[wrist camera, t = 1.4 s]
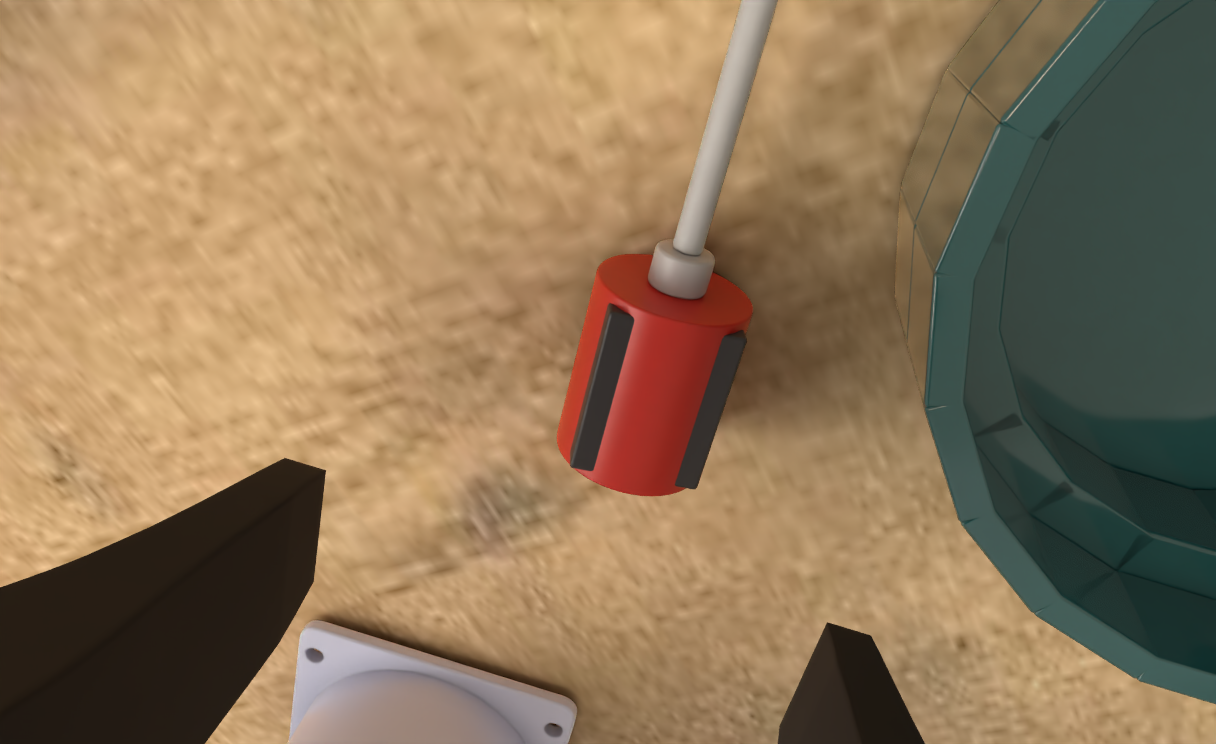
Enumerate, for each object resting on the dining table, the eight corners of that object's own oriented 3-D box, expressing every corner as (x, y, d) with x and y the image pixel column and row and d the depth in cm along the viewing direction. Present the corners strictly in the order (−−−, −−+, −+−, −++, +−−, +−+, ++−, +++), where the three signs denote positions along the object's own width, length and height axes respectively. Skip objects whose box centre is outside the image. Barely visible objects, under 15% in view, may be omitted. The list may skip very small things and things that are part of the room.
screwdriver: (690, 425, 22) (707, 508, 19) (557, 401, 22) (554, 481, 19) (846, -54, 17) (898, -36, 15) (677, -98, 17) (698, -88, 14)
